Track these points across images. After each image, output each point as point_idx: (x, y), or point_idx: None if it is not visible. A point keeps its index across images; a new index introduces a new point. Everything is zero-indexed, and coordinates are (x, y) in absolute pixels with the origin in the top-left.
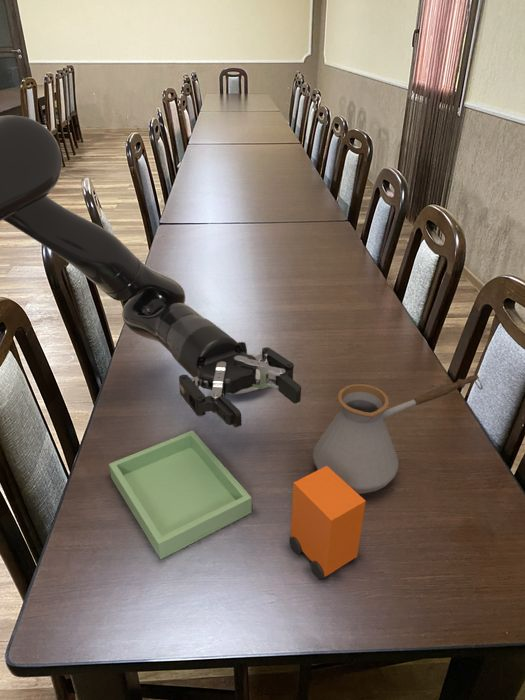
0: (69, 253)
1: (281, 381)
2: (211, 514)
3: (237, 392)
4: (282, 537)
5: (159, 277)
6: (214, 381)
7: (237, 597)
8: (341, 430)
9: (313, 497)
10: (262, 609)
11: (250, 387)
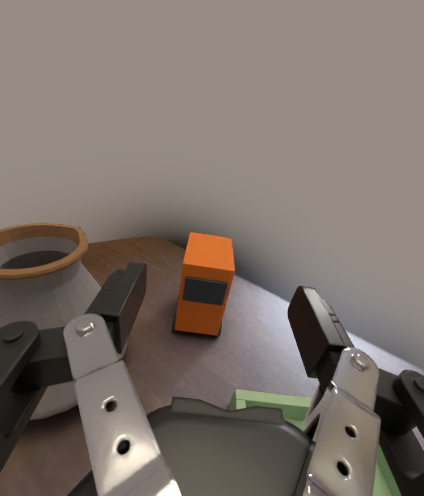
0: None
1: (126, 311)
2: (300, 401)
3: None
4: (217, 351)
5: None
6: (373, 412)
7: (286, 334)
8: (88, 295)
9: (228, 253)
10: (271, 316)
11: None
